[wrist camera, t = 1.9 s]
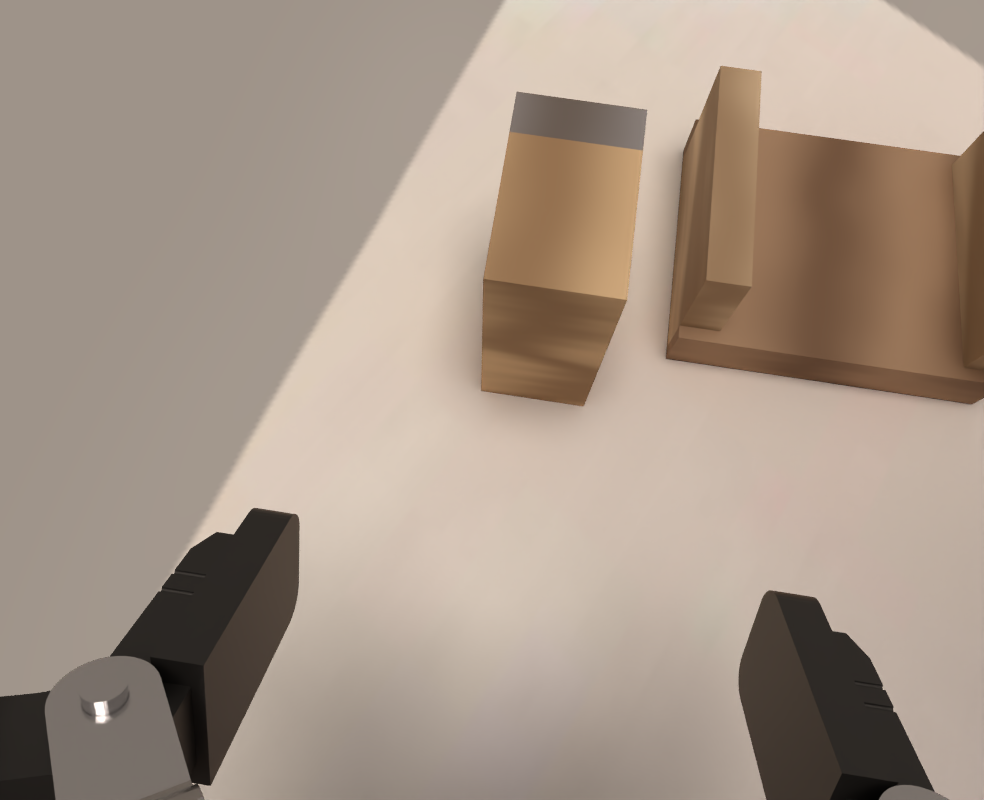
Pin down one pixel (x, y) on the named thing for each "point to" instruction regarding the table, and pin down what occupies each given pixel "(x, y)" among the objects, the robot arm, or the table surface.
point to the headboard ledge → (827, 255)
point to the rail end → (560, 246)
